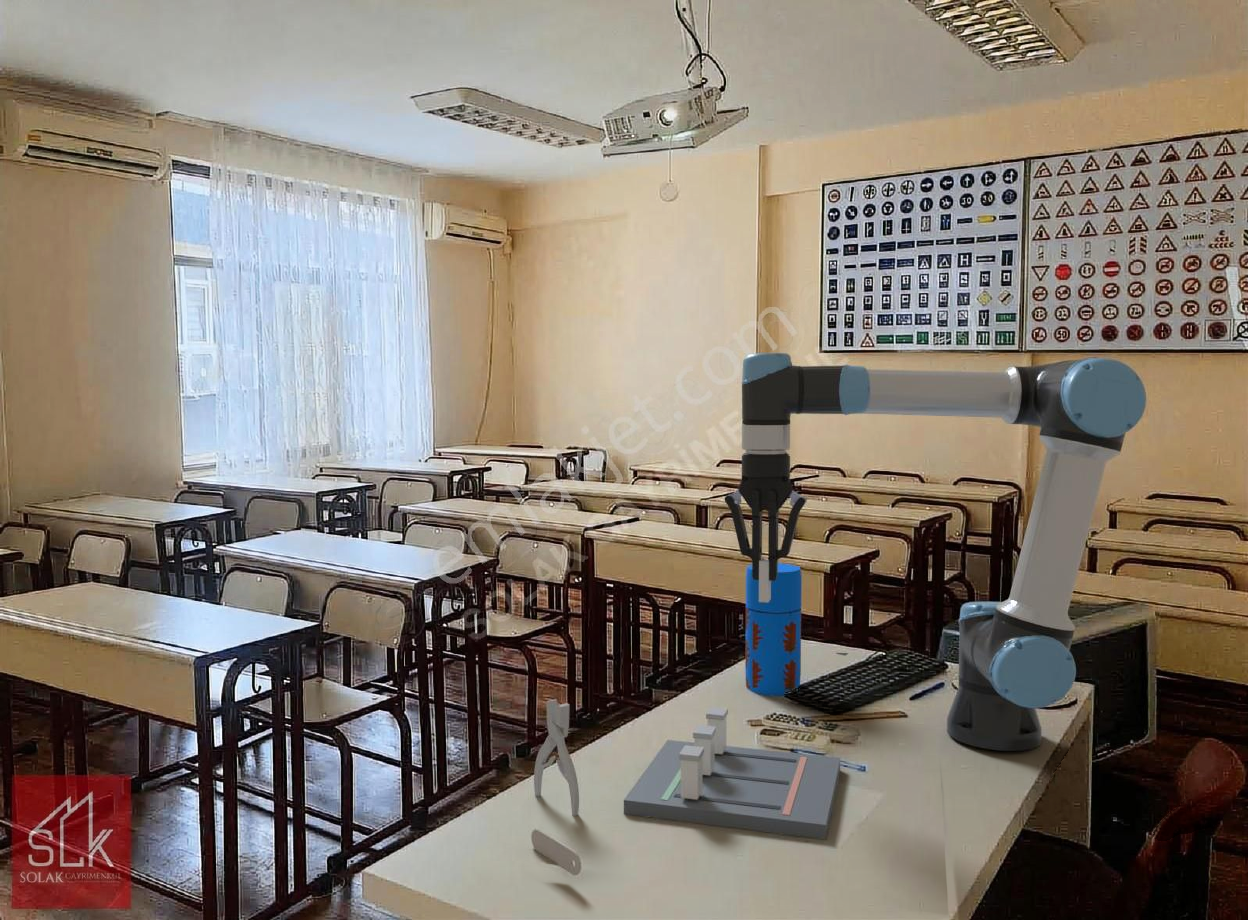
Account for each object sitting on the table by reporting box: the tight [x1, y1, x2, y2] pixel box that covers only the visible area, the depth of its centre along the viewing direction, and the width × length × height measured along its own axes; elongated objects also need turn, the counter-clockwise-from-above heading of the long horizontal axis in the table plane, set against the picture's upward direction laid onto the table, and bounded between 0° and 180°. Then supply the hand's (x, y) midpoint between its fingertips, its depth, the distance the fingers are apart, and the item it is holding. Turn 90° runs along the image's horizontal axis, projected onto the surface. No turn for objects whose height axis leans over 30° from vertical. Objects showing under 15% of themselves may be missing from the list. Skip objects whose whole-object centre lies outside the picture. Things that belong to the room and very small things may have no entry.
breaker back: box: [705, 706, 729, 754], centre depth 154 cm, size 3×4×6 cm
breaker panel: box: [623, 739, 841, 840], centre depth 144 cm, size 28×25×2 cm
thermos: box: [744, 562, 802, 697], centre depth 192 cm, size 11×11×25 cm
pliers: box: [533, 699, 580, 817], centre depth 139 cm, size 10×2×15 cm, turn 41°
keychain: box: [530, 828, 582, 876], centre depth 123 cm, size 10×1×3 cm, turn 39°
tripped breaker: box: [692, 724, 716, 775], centre depth 146 cm, size 3×4×6 cm
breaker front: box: [679, 745, 704, 800], centre depth 137 cm, size 3×4×6 cm
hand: (764, 600), depth 154 cm, fingers closed
